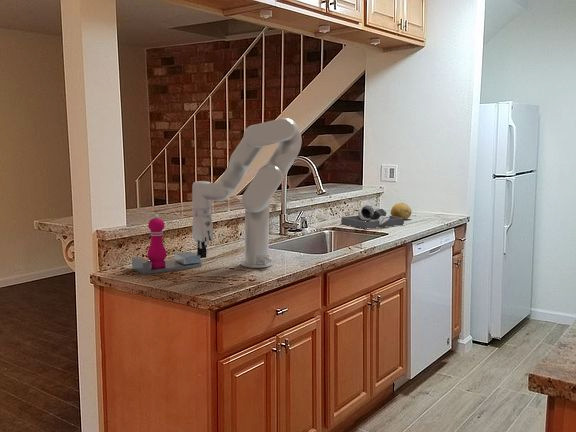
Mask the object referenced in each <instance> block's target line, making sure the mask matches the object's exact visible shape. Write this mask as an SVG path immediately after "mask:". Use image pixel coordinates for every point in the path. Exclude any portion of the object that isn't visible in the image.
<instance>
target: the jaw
mask: <svg viewBox="0 0 576 432" xmlns="http://www.w3.org/2000/svg"><path fill="white" fill-rule="evenodd" d="M173 257H174V258H173V260H176V261H178V262H180V263H182V264H192V263H201V258H200V255H198V254H197V253H195V252H193V251H189V250H188V251H182V252H176V253H173Z"/></svg>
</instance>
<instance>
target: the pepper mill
mask: <svg viewBox="0 0 576 432" xmlns="http://www.w3.org/2000/svg"><path fill="white" fill-rule="evenodd" d="M147 227H148V229H149V230H150V231H149V236H150V244H149V247H148V249H147V253H146V254H147V259H148V261H150V262H151V267H152V268H161V267H164V266H165V261H166V260H165V259H166V258H167V250H166V247H165V245H164V243H163V235H164V231H163V230H164V229H165V222H164V220H163V219H162V218H159V214H157V213H156V214H154V215H153V218H152V219H150V220H149V221H148V225H147Z"/></svg>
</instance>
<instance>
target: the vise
mask: <svg viewBox="0 0 576 432" xmlns="http://www.w3.org/2000/svg"><path fill="white" fill-rule="evenodd" d="M164 261H165V266H164V267H161V268H152V267H151V262H150V260H149V259H148V260H147V259H146V258H144V257H141V256H133V257H131V269H132V270H134V271H135V272H138V273H140V274H141V275H143V276H144V275H151V274H159V273H165V272H166V273H167V272H173V271H181V270H189V269H195V268H200V267H201V268H202V267H203V264H202V263H201V262H200V263H192V264H182V263H180V262H178V261H176V260H174V259H173V260H164Z"/></svg>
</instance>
